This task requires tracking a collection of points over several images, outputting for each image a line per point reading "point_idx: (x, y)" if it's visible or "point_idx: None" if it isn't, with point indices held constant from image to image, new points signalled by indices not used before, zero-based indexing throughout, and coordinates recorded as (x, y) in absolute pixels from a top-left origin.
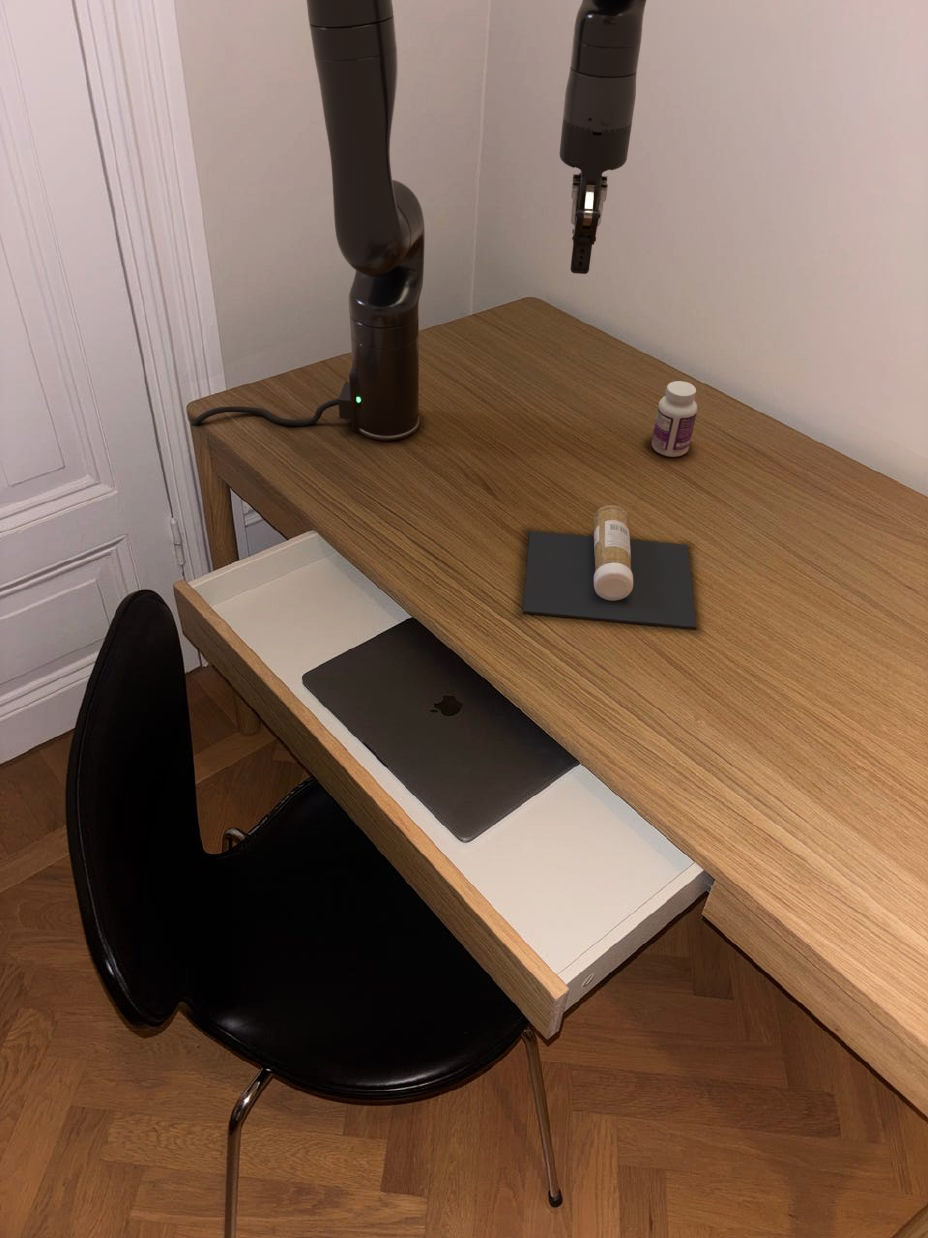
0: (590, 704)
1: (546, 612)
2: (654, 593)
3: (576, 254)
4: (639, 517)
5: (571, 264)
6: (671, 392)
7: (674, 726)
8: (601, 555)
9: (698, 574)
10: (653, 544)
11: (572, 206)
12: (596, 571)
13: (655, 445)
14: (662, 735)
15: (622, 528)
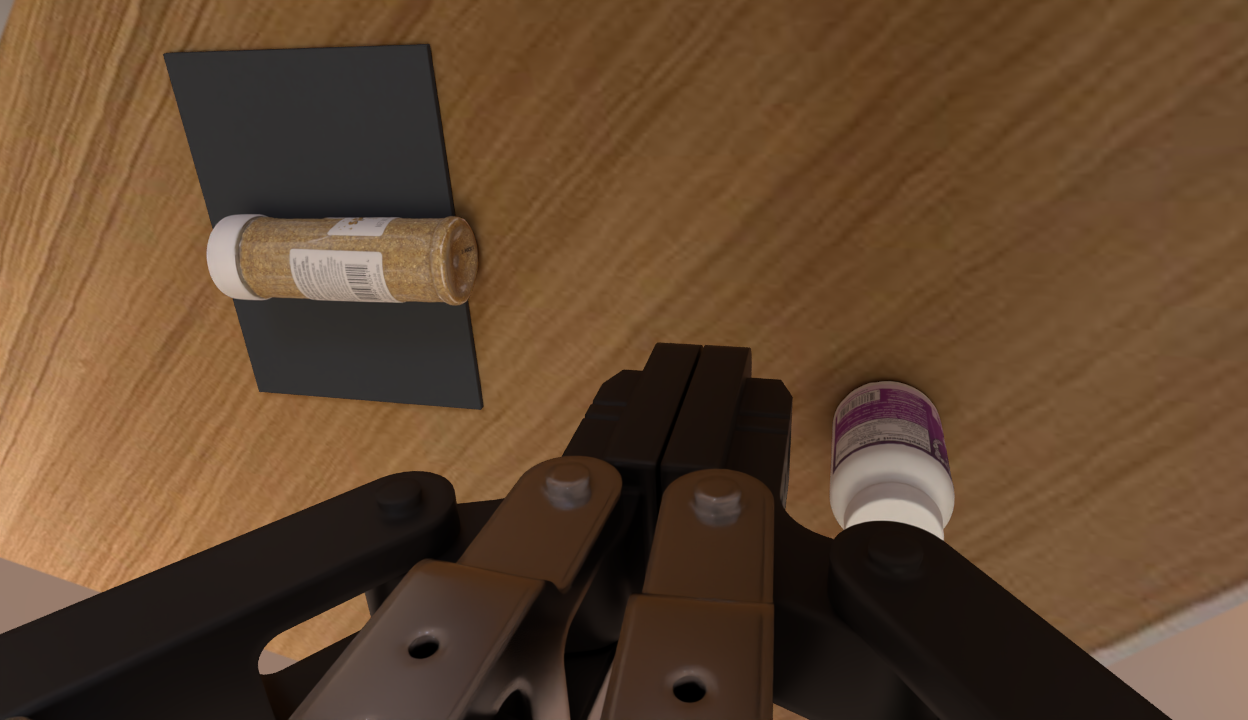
0: (27, 197)
1: (179, 107)
2: (315, 329)
3: (573, 438)
4: (562, 320)
5: (647, 363)
6: (862, 506)
7: (54, 328)
8: (272, 239)
9: (408, 415)
10: (461, 342)
11: (379, 701)
12: (236, 225)
13: (861, 392)
14: (30, 308)
15: (368, 292)
